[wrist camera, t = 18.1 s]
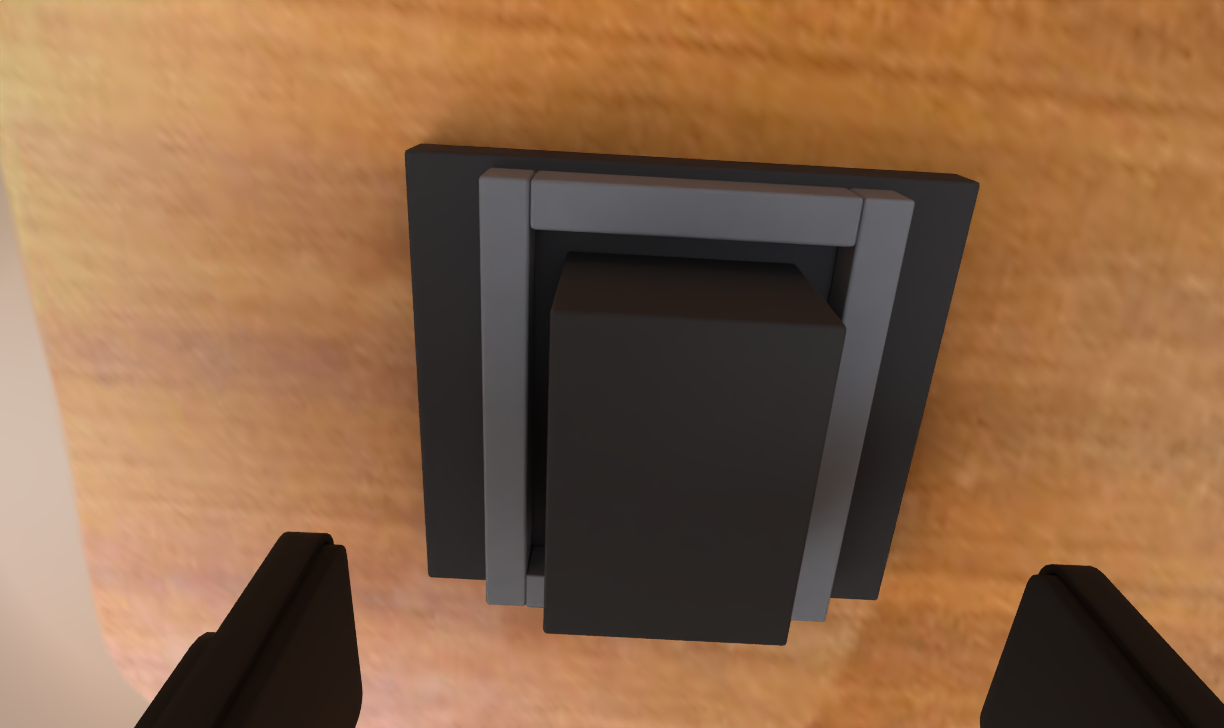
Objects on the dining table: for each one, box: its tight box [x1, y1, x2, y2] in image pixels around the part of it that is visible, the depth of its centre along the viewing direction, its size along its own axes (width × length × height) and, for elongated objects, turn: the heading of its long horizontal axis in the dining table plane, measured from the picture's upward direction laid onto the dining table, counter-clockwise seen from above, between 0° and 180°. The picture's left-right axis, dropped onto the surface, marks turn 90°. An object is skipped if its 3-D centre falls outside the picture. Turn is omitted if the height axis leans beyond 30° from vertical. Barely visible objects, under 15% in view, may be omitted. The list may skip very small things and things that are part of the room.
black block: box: [543, 251, 847, 646], centre depth 15 cm, size 5×7×4 cm
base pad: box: [405, 144, 979, 622], centre depth 17 cm, size 12×11×2 cm
